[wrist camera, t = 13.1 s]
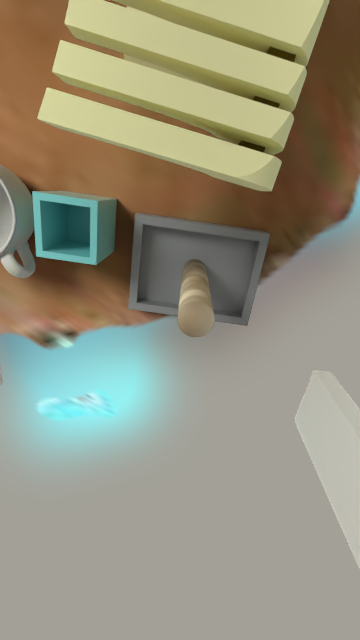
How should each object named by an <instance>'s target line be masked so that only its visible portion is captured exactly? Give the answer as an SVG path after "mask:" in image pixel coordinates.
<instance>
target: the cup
mask: <svg viewBox="0 0 360 640" xmlns="http://www.w3.org/2000/svg"><path fill="white" fill-rule="evenodd" d="M32 196H33V212H34V228H35V244H36V256H37V257H43V258H50V259H57V260H64V261H71V262H78V263H85V264H92V265H97V264H98V263H100V262H101V261H102V260H103V259H105V258H106V257H107V256H109V255H110V254H111V253H112V252H114V251H115V229H116V207H117V199H116V198H109V197H102V196H95V195H89V194H82V193H75V192H69V191H32Z"/></svg>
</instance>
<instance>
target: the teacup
mask: <svg viewBox="0 0 360 640" xmlns="http://www.w3.org/2000/svg"><path fill="white" fill-rule="evenodd" d="M33 231H34V212H33V198H32V196H31V194H30V192H29V190H28V188H27V187H26V186H25V184H24V183H23V182H22V181H21V179H20V178H19V177H18V176H16V175H15V174H14V173H13V172H12V171H10V170H9V169H7V168H6V167H4V166H2V165H0V259H1V262H2V264H3V266H4V267H5V269H6V270H7V271H8V272H9V273H10V274H12V275H13V276H15V277H18V278H27V277H29V276H31V275H32V274H33V273H34V271H35V268H36V265H35V260H34V257H33V255H32V253H31V251H30V245H29V243H28V242H27V241H28V239H29V238H30V236H31V235H32V233H33ZM15 250H17V252H18V254H19V256H20V258H21V260H22V262H23V265H24V267H23V266H21V265H20V264H19V263H18V262H17V261H16V259H15V258H14V255H13V253H14V252H15Z"/></svg>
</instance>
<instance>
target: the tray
mask: <svg viewBox="0 0 360 640" xmlns="http://www.w3.org/2000/svg"><path fill="white" fill-rule="evenodd" d="M269 238H270V233H268V232H266V231H261V230H254V229H248V228H241V227H234V226H227V225H221V224H214V223H207V222H200V221H194V220H187V219H180V218H173V217H167V216H160V215H153V214H146V213H140V212H139V213H136V214H135V222H134V236H133V250H132V264H131V279H130V293H129V307H128V309H133V310H140V311H147V312H154V313H161V314H168V315H175V316H178V309H179V300H180V292H181V283H182V275H183V267H184V265H185V264H186V263H187V262H188V261H189V260H192V259H197V260H200V261H202V262H203V263H204V265H205V267H206V272H207V277H208V283H209V289H210V295H211V301H212V306H213V312H214V318H215V321H218V322H225V323H232V324H239V325H246V326H247V324H248V320H249V317H250V313H251V309H252V304H253V301H254V296H255V293H256V289H257V285H258V281H259V277H260V273H261V269H262V265H263V261H264V258H265V254H266V250H267V246H268V242H269Z"/></svg>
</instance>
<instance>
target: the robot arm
mask: <svg viewBox="0 0 360 640" xmlns="http://www.w3.org/2000/svg"><path fill="white" fill-rule="evenodd" d="M2 383H3V381H2V374H1V367H0V385H1V384H2ZM294 421H295V424H296V426H297V428H298V430H299V433H300V435H301V437H302V440H303V442H304V444H305V446H306V449H307V451H308V453H309V456H310V458H311V460H312V462H313V465H314V467H315V469H316V472H317V474H318V476H319V478H320V481H321V483H322V485H323V487H324V490H325V492H326V494H327V497H328V499H329V501H330V503H331V506H332V508H333V510H334V513H335V514H336V516H337V519H338V522H339V524H340V526H341V528H342V531H343V533H344V535H345V537H346V540H347V542H348V544H349V547H350V548H351V551H352V553H353V556H354V558H355V560H356V563H357V565H358V567H359V569H360V409H359V408H358V407H357V405H356V404H355V403H354V401H353V400H352V399H351V397H350V396H349V395H348V393H347V392H346V391H345V389H344V388H343V387H342V386H341V384H340V383H339V381H338V380H337V379H336V378H335V376H334V375H333V374H332V372H327V371H319V370H313V372H312V375H311V377H310V380H309V382H308V385H307V388H306V390H305V393H304V395H303V398H302V401H301V403H300V406H299V409H298V411H297V414H296V416H295V419H294Z"/></svg>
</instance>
